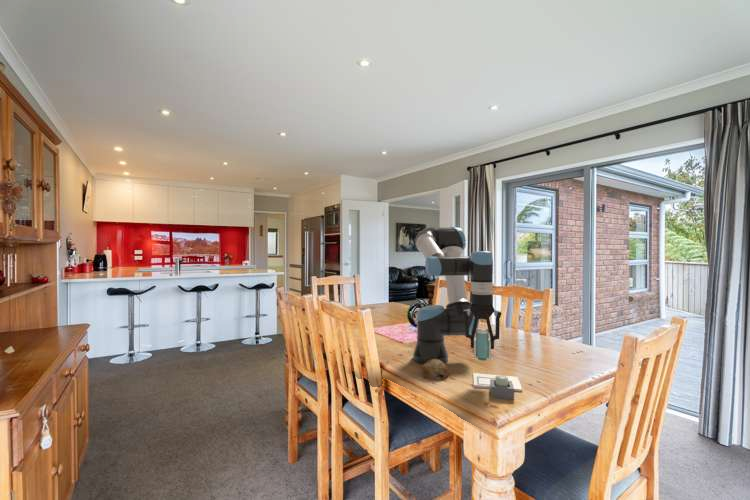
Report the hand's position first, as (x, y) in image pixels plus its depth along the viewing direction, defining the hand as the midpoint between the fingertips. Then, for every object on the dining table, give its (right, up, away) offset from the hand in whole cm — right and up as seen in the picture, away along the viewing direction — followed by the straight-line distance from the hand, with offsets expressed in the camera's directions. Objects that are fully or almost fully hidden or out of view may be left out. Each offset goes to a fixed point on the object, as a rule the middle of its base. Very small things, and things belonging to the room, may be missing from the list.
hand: (482, 357), depth 128 cm
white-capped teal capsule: (0, -1, 0) cm, 1 cm away
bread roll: (-16, -10, +8) cm, 20 cm away
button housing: (+3, -9, -10) cm, 14 cm away
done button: (+3, -8, -10) cm, 13 cm away
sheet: (+5, -9, 0) cm, 10 cm away
